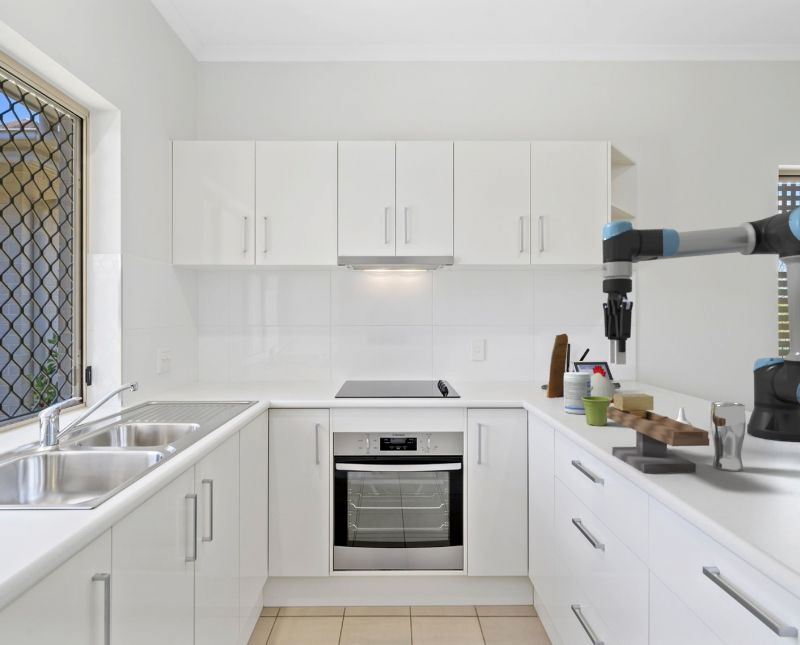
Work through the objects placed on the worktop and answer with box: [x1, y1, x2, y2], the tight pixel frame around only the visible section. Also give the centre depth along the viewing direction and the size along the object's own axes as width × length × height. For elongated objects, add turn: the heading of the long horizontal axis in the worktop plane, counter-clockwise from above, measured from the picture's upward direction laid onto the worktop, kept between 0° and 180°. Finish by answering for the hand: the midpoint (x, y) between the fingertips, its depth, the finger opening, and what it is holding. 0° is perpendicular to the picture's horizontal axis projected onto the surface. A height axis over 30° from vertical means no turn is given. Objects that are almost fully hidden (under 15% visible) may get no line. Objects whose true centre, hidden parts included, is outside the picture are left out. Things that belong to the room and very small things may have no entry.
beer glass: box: [709, 401, 747, 473], centre depth 122 cm, size 7×7×15 cm
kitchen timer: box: [590, 364, 617, 404], centre depth 223 cm, size 14×14×15 cm
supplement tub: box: [563, 371, 591, 415], centre depth 195 cm, size 10×10×15 cm
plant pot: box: [582, 396, 612, 427], centre depth 173 cm, size 9×9×9 cm
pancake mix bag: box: [546, 333, 569, 399], centre depth 236 cm, size 7×19×28 cm, turn 141°
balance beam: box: [606, 406, 710, 474], centre depth 127 cm, size 32×12×11 cm, turn 2°
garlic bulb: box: [675, 406, 693, 426], centre depth 161 cm, size 6×6×8 cm
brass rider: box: [613, 393, 654, 418], centre depth 136 cm, size 5×8×5 cm, turn 92°
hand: (617, 363), depth 144 cm, fingers open, 3 cm apart
